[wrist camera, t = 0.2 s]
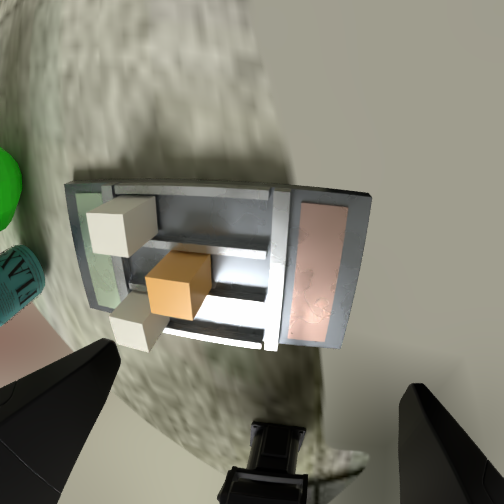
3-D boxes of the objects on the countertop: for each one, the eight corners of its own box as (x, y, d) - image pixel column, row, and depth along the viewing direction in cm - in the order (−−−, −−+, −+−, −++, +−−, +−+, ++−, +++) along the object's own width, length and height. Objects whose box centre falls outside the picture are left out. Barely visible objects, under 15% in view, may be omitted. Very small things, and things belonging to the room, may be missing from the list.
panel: (339, 339, 24) (341, 357, 22) (96, 301, 28) (84, 313, 26) (368, 192, 19) (375, 201, 17) (72, 180, 22) (56, 187, 20)
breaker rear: (169, 320, 25) (149, 352, 21) (140, 314, 25) (117, 343, 21) (165, 293, 23) (142, 324, 20) (134, 287, 24) (108, 316, 20)
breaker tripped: (211, 287, 22) (192, 320, 18) (175, 282, 23) (151, 313, 19) (210, 253, 21) (189, 283, 17) (171, 249, 22) (144, 276, 18)
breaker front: (158, 233, 21) (128, 257, 17) (125, 230, 22) (93, 252, 18) (155, 195, 20) (122, 214, 16) (120, 195, 20) (86, 212, 17)
